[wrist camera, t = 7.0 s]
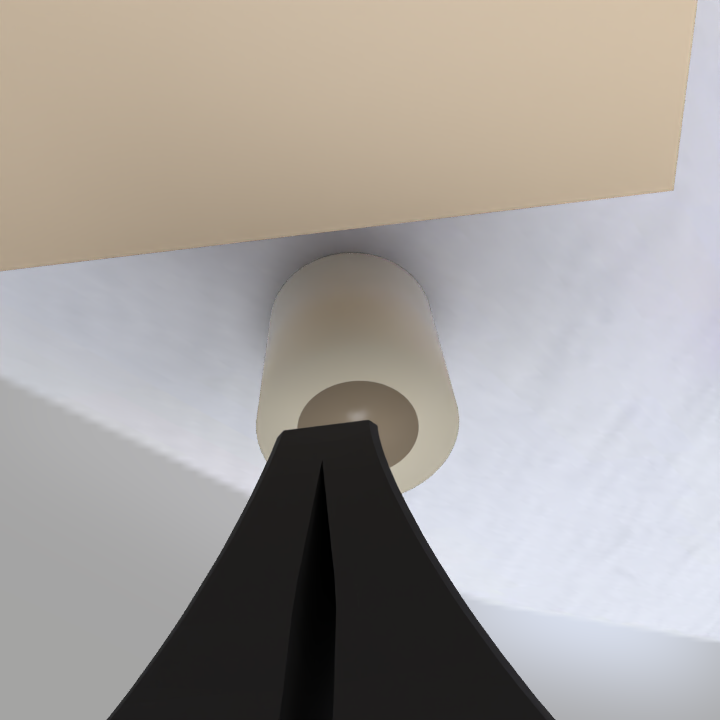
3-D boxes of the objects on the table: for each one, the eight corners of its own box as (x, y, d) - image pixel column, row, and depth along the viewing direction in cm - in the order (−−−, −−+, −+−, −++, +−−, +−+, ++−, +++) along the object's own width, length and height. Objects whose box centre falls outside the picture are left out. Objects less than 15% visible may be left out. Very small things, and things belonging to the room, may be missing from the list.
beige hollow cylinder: (285, 400, 22) (276, 513, 18) (255, 264, 19) (235, 359, 15) (435, 382, 22) (462, 491, 18) (426, 242, 19) (455, 332, 15)
